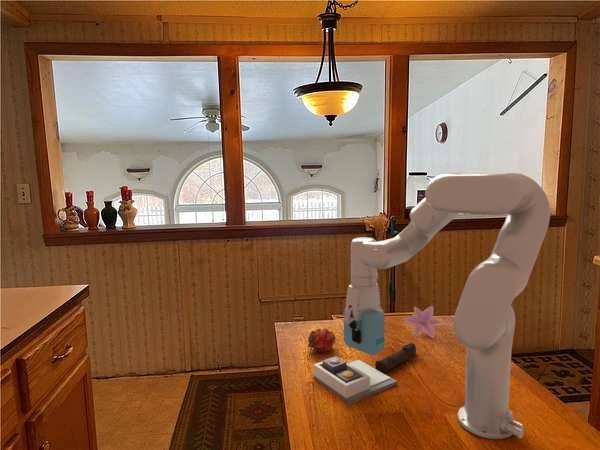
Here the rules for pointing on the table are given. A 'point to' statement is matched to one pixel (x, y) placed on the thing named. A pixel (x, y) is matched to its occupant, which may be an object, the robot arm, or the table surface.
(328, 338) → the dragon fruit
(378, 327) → the data package
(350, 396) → the board
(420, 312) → the lily
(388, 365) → the hand tool
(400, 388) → the table surface
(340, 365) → the grey square block
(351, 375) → the tagged breaker
